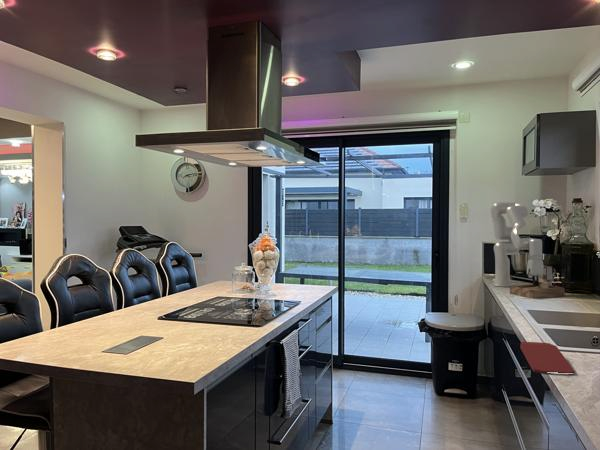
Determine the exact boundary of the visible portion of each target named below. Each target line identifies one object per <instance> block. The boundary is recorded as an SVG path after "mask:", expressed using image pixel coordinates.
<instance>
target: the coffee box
mask: <svg viewBox="0 0 600 450" xmlns="http://www.w3.org/2000/svg"><path fill="white" fill-rule="evenodd" d="M553 270H554V267H553V266H549V265H544V274H543V277H540V280H539V281H545V282H548V285H551V286H552V279H553V280H554V278H553V277H554V271H553Z"/></svg>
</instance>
